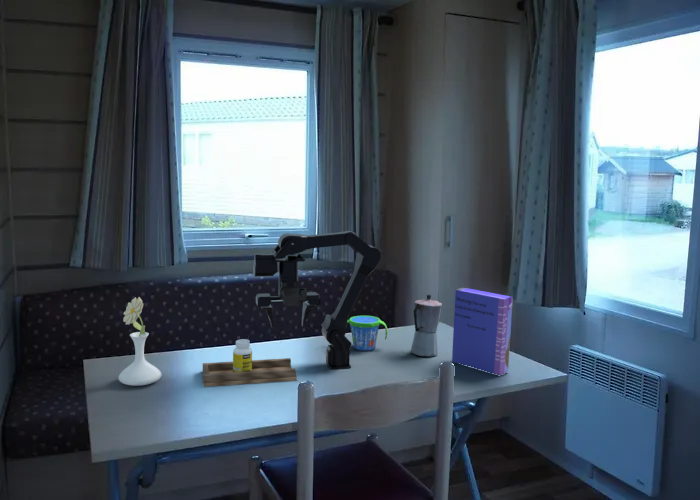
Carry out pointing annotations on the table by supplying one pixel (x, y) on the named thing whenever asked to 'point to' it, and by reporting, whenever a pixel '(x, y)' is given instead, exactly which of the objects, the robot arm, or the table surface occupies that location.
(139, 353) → the flower in vase
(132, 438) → the table surface
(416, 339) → the moka pot
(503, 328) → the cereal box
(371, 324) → the snack cup
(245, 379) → the walnut track
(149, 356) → the table surface
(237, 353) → the supplement bottle
